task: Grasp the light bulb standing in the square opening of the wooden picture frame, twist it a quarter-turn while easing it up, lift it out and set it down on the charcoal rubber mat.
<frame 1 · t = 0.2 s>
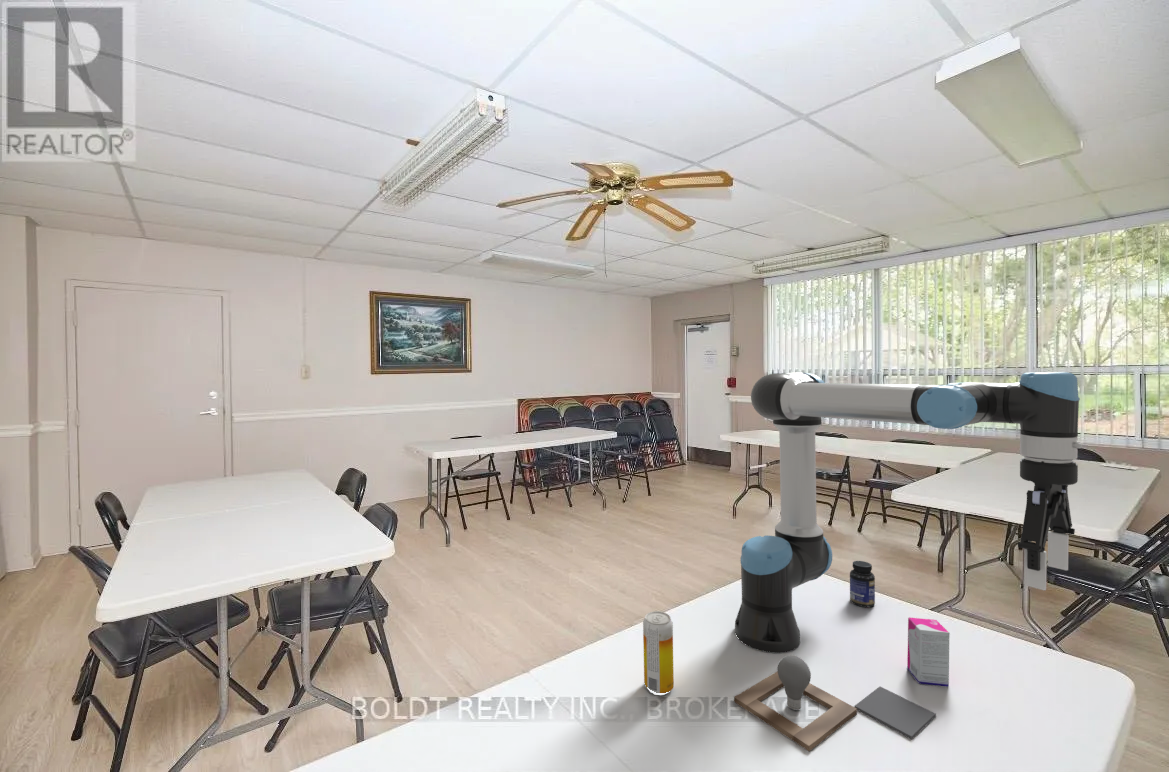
hand: (1046, 577, 89), 28 cm above the table, fingers open, 13 cm apart
mat: (894, 712, 95), on the table
beer can: (659, 689, 104), on the table
wooden picture frame: (794, 707, 97), on the table
light bulb: (794, 708, 97), resting in wooden picture frame
supplement box: (927, 678, 106), on the table
pill bottle: (862, 603, 139), on the table
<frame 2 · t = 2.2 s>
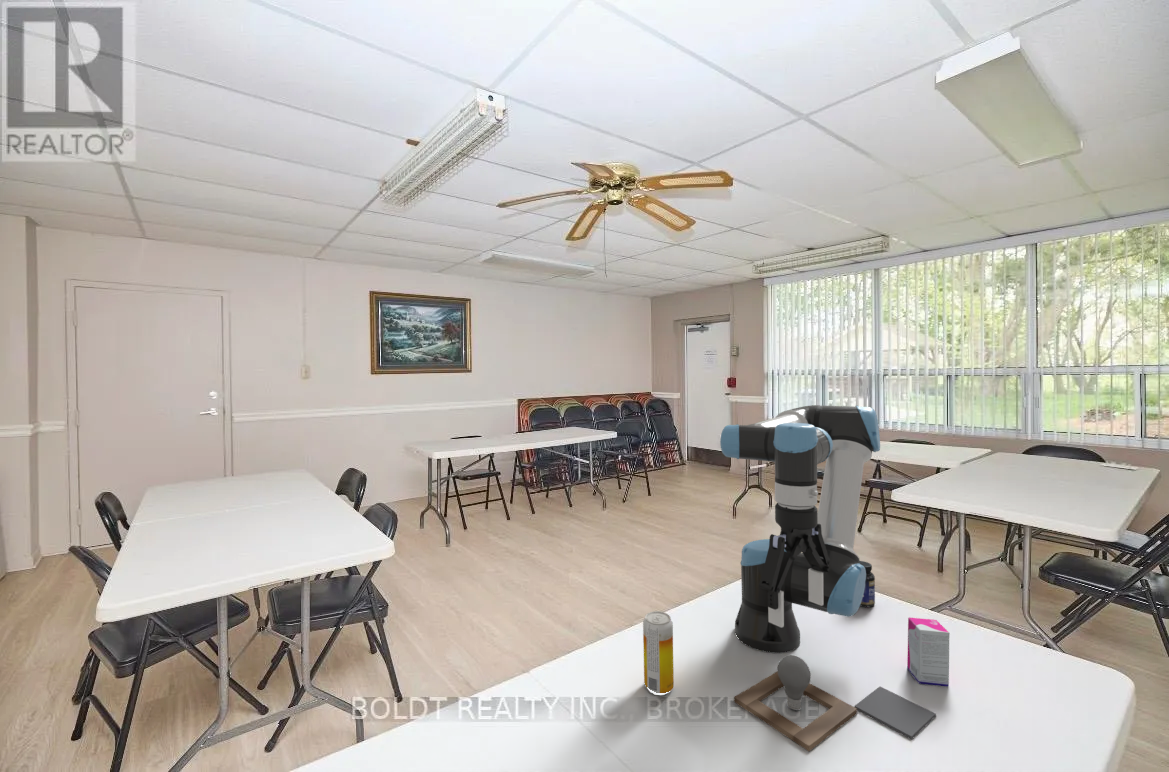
hand: (796, 613, 97), 19 cm above the table, fingers open, 13 cm apart
nothing on the table moved.
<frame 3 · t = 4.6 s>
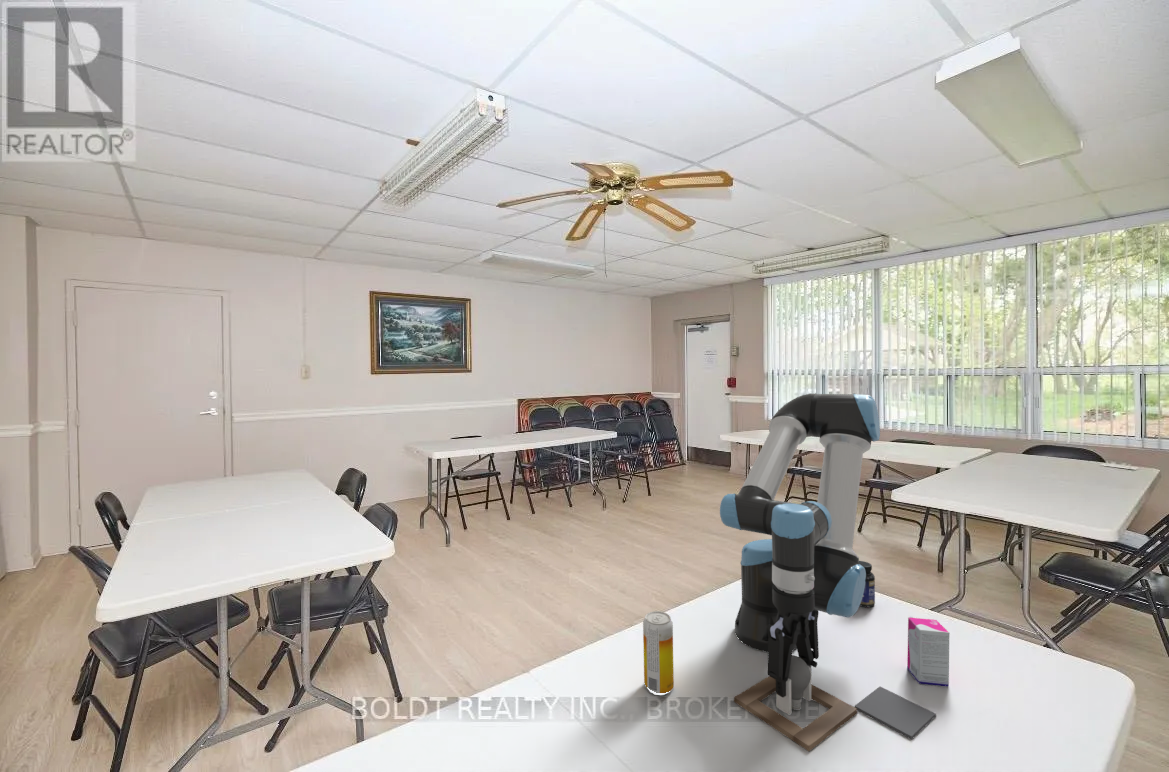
hand: (794, 703, 97), 1 cm above the table, fingers closed on light bulb, 6 cm apart
light bulb: (794, 708, 97), resting in wooden picture frame, touching gripper
everything else where it was.
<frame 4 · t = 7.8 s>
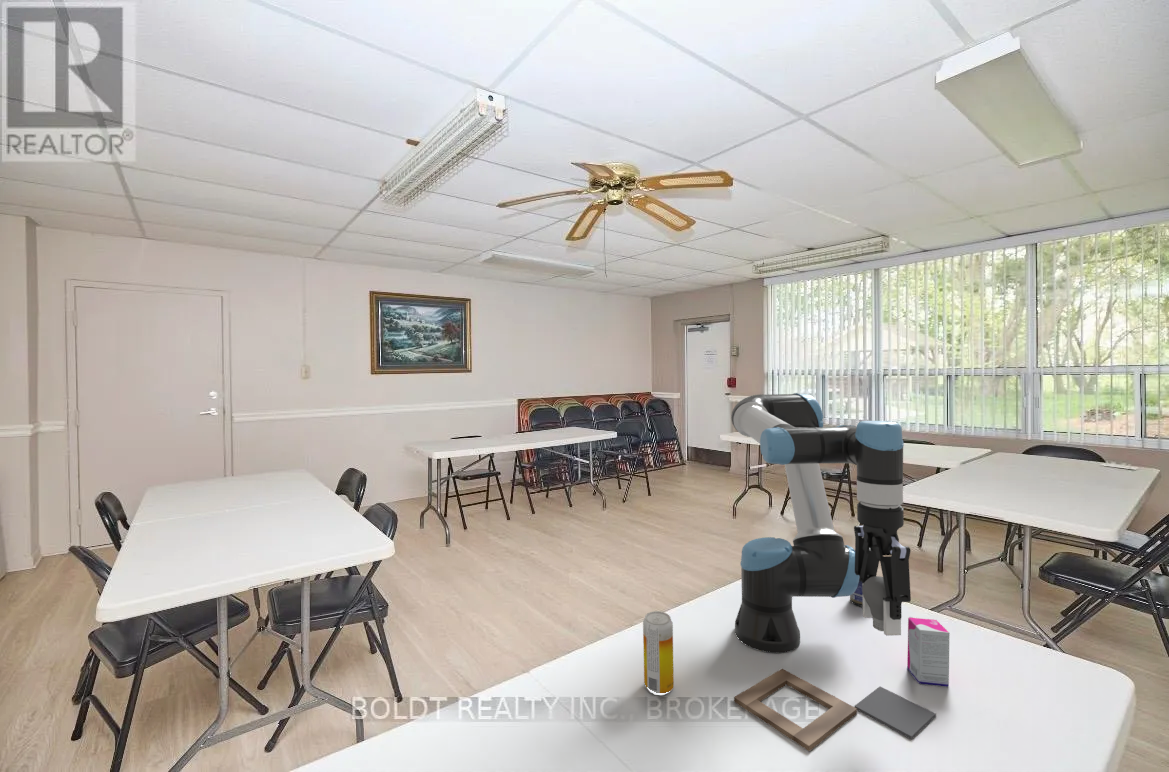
hand: (881, 625, 94), 17 cm above the table, fingers closed on light bulb, 6 cm apart
light bulb: (880, 630, 94), point 16 cm above the table, touching gripper
everything else where it was.
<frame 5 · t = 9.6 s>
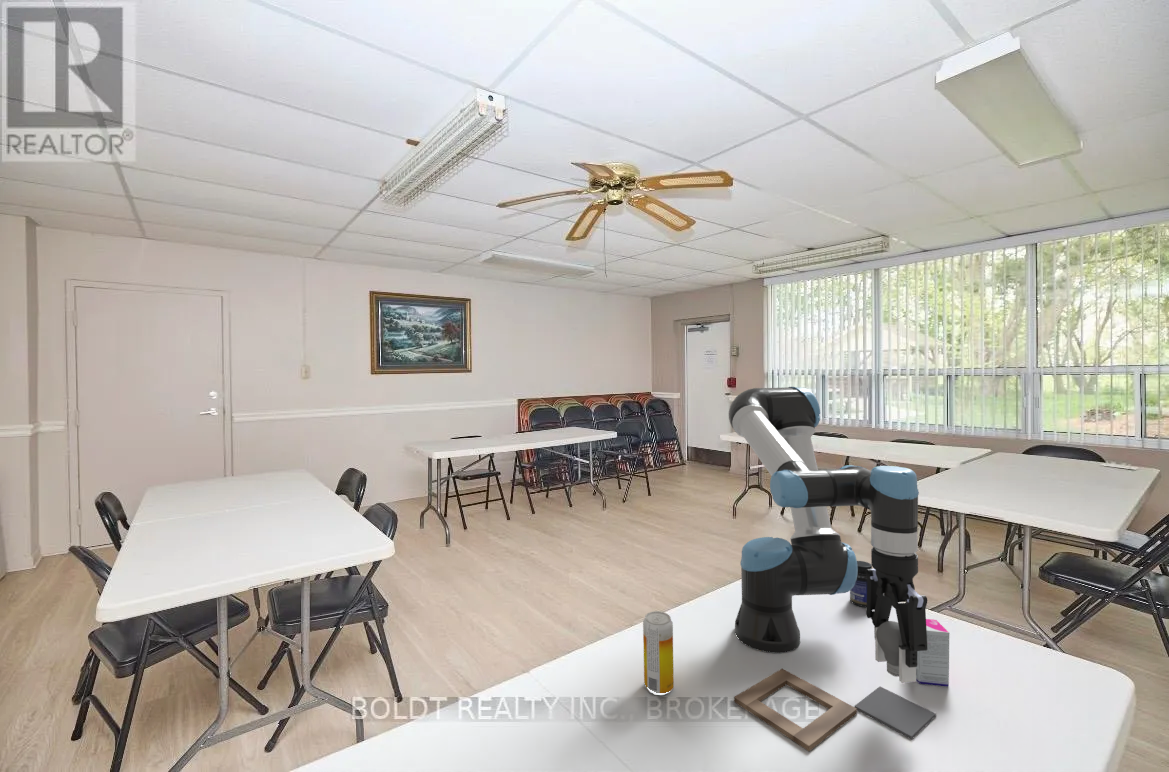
hand: (895, 670, 95), 8 cm above the table, fingers closed on light bulb, 6 cm apart
light bulb: (894, 675, 95), point 7 cm above the table, touching gripper
everything else where it was.
when the fingers open (2 cm above the table, at t = 11.1 s): light bulb stays where it is, resting on mat.
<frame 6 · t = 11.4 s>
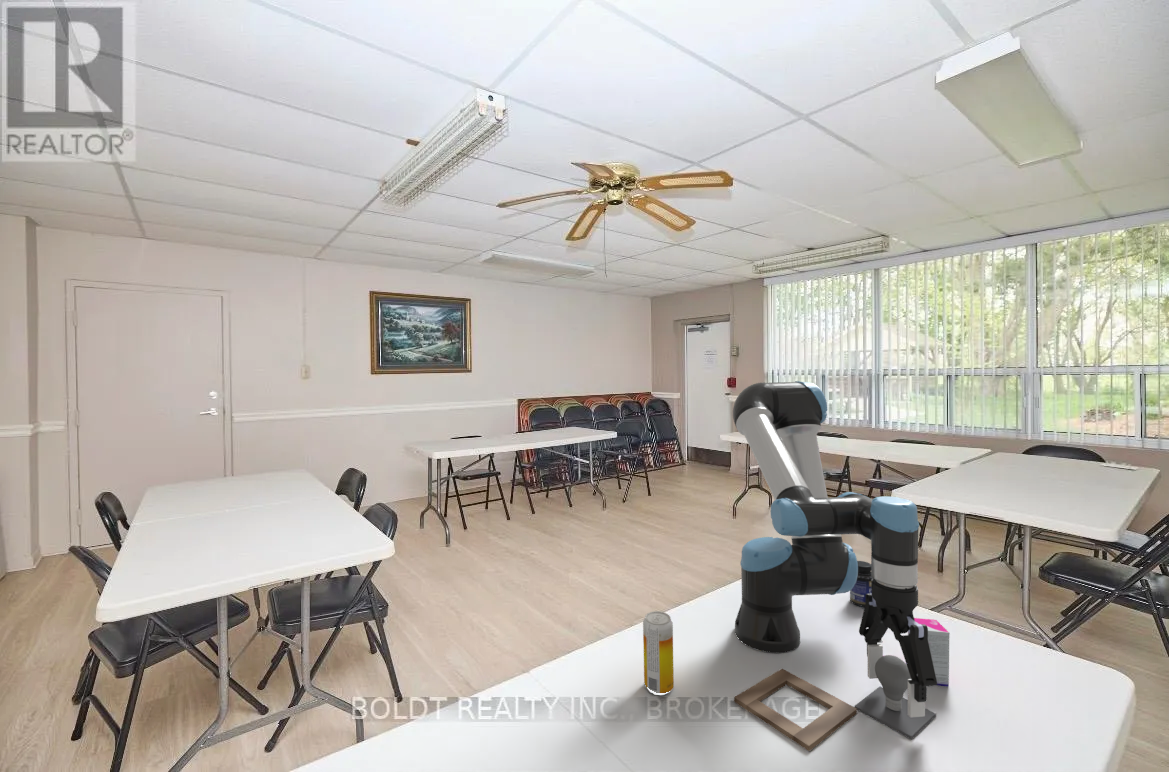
hand: (894, 695, 95), 3 cm above the table, fingers open, 10 cm apart
light bulb: (893, 709, 96), resting on mat
everything else where it was.
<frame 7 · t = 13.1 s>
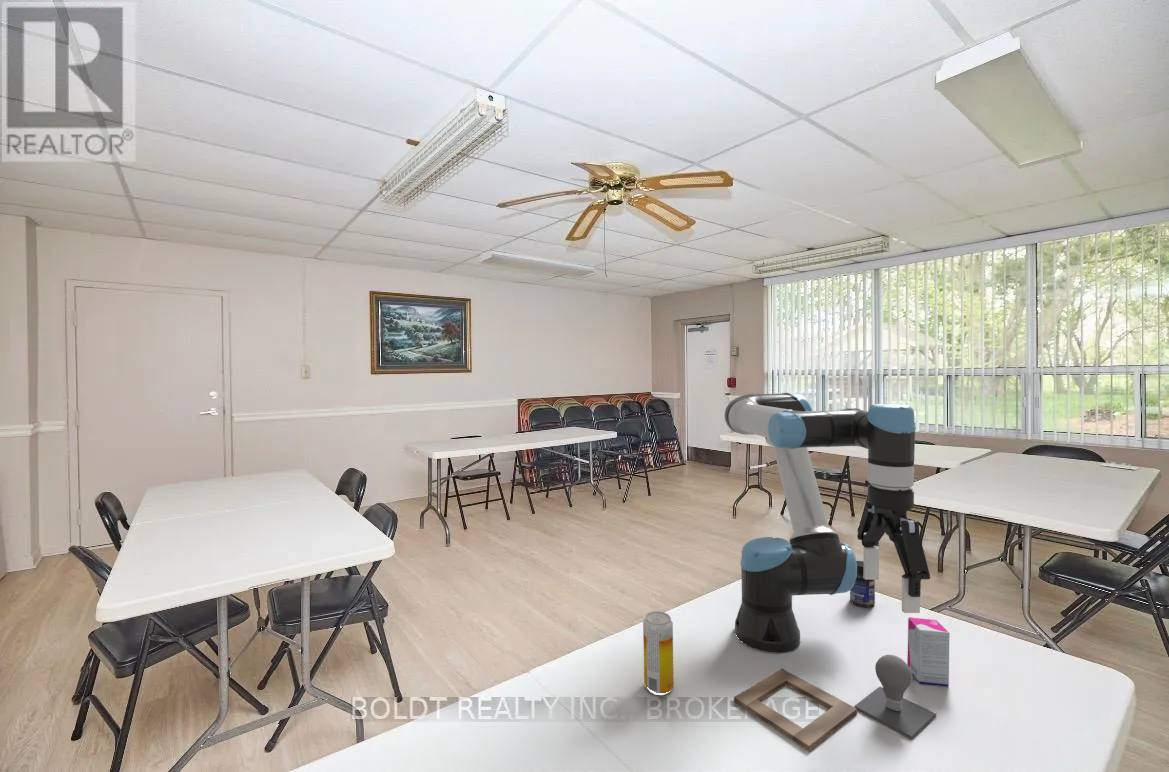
hand: (889, 594, 96), 22 cm above the table, fingers open, 13 cm apart
nothing on the table moved.
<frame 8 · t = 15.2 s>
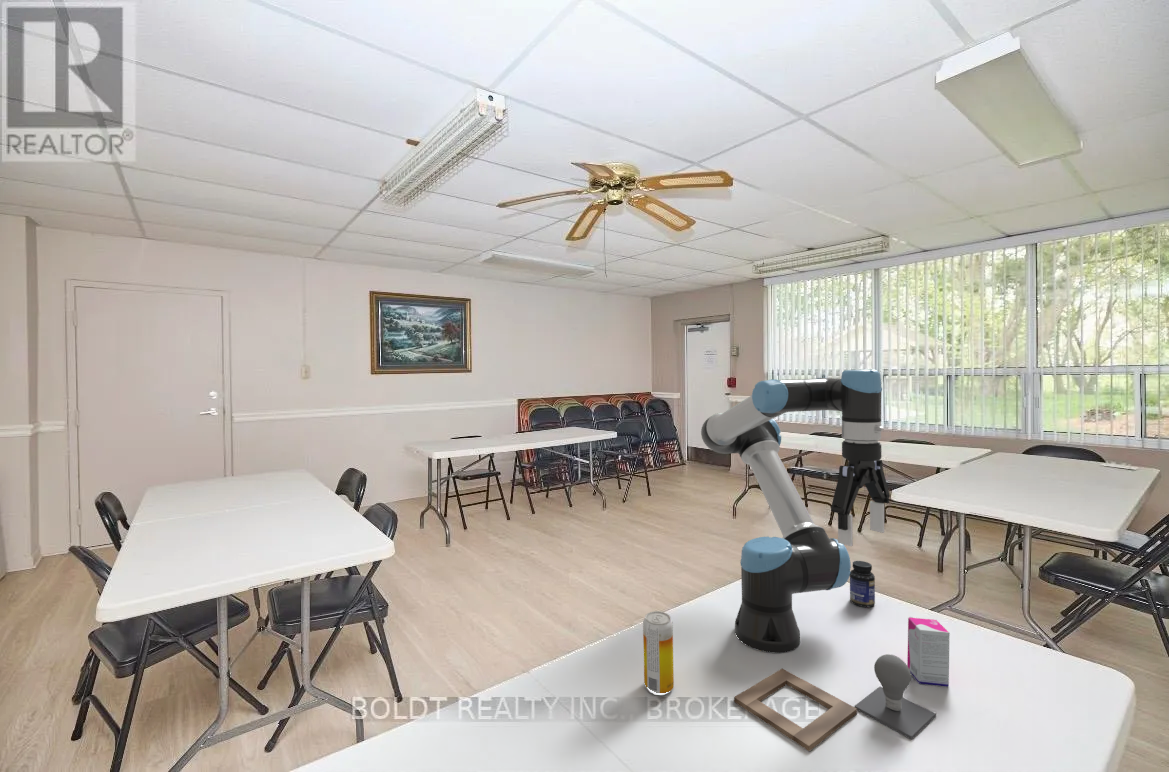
hand: (861, 537, 109), 29 cm above the table, fingers open, 13 cm apart
nothing on the table moved.
at the end: light bulb 0.3 cm from the mat (horizontally); light bulb resting on mat; light bulb touching mat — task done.
